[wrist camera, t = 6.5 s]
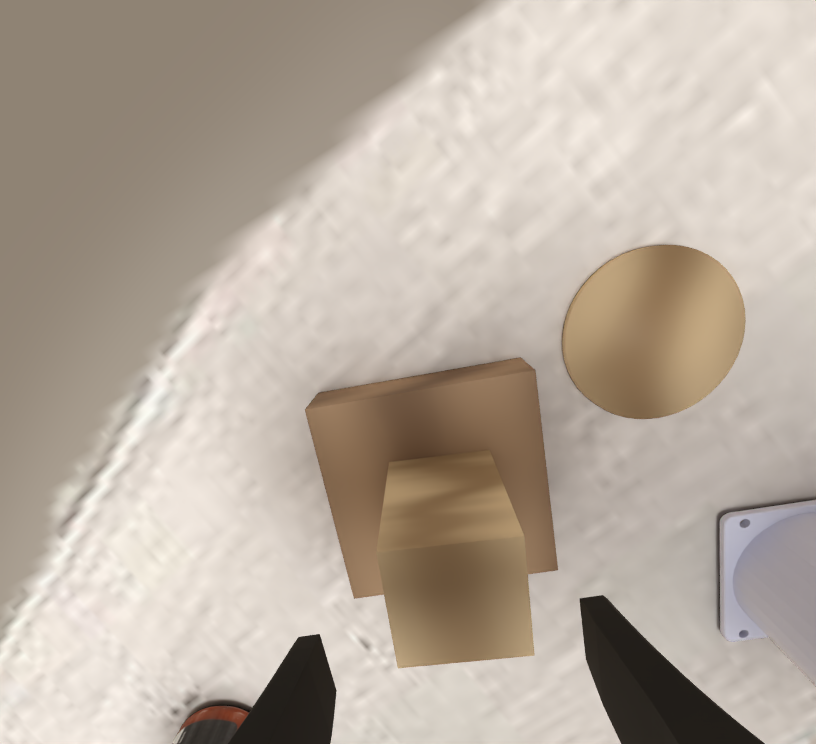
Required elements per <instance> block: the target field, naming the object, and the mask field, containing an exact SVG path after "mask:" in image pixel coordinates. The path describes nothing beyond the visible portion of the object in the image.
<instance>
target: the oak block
mask: <svg viewBox="0 0 816 744" xmlns="http://www.w3.org/2000/svg"><path fill="white" fill-rule="evenodd" d="M376 554H377V559H378V564H379V570H380V575H381V580H382V586H383V591H384V596H385V602H386V607H387V612H388V618H389V623H390V628H391V634H392V639H393V645H394V650H395V655H396V661H397V666H398V668H406V667H416V666H427V665H438V664H448V663H459V662H470V661H480V660H491V659H501V658H512V657H523V656H533V655H534V645H533V633H532V621H531V609H530V597H529V585H528V573H527V561H526V549H525V537H524V534H523V531H522V529H521V527H520V524H519V522H518V519H517V517H516V514H515V512H514V509H513V507H512V504H511V502H510V499H509V497H508V494H507V492H506V489H505V487H504V484H503V482H502V480H501V477H500V475H499V472H498V470H497V467H496V465H495V462H494V460H493V457H492V455H491V452H490V450H485V451H476V452H468V453H460V454H452V455H444V456H435V457H427V458H419V459H411V460H402V461H394V462H389V466H388V473H387V480H386V487H385V494H384V501H383V508H382V515H381V523H380V530H379V537H378V544H377V551H376Z"/></svg>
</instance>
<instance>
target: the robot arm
mask: <svg viewBox="0 0 816 744" xmlns="http://www.w3.org/2000/svg"><path fill="white" fill-rule="evenodd" d="M742 520H744V521H742ZM741 521H742V522H741ZM740 522H741V523H740ZM580 607H581V616H582V626H583V635H584V645H585V654H586V660H587V663H588V666H589V669H590V671H591V674H592V677H593V679H594V682H595V685H596V688H597V690H598V693H599V695H600V698H601V701H602V703H603V706H604V708H605V710H606V712H607V714H608V716H609V719H610V721H611V723H612V725H613V727H614V729H615V731H616V733H617V735H618V738H619V740H620V742H621V744H765V743H763V742H762V741H761V740H760V739H758V738H757V737H756V736H755V735H753V734H752V733H751V732H749V731H748V730H747V729H746V728H744V727H743V726H742V725H741V724H740V723H738V722H737V721H736V720H735V719H733V718H732V717H731V716H730V715H729V714H727V713H726V712H725V711H724V710H723V709H722V708H720V707H719V706H718V705H717V704H716V703H715V702H713V701H712V700H711V699H710V698H709V697H708V696H706V695H705V694H704V693H703V692H702V691H701V690H700V689H698V688H697V687H696V686H695V685H694V684H693V683H692V682H691V681H690V680H688V679H687V678H686V677H685V676H684V675H683V674H682V673H681V672H680V671H679V670H678V669H677V668H675V667H674V666H673V665H672V664H671V663H670V662H669V661H668V660H667V659H666V658H665V657H664V656H663V655H662V654H661V653H660V652H658V651H657V650H656V649H655V648H654V647H653V646H652V645H651V644H650V643H649V642H648V641H647V640H646V639H645V638H644V637H643V636H642V635H641V634H640V633H639V632H638V631H637V630H636V629H635V628H634V627H633V626H632V625H631V624H630V622H629V621H628V620H627V619H626V618H625V617H624V616H623V615H622V614H621V613H620V612H619V611H618V610H617V609H616V608H615V607H614V605H613V604H612V603H611V602H610V601H609V600H608V599H607V598H606V597H604V596H603V595H602V596H594V597H587V598H580ZM720 632H721V634H722V635H723V636H724V638H725V639H726V640H728V641H732V642H735V641H742V640H750V639H758V638H766V637H769V638H770V639H771V640H772V641H773V642H774V643H775V644H776V645H777V647H778V648H779V649H780V650H781V651H782V652H783V653H784V654H785V655H786V656H787V657H788V658H789V659H790V660H791V661H792V662H793V663H794V664H795V665H796V666H797V667H798V668H799V670H800V671H801V672H802V673H803V674H804V675H805V676H806V677H807V678H808V679H809V680H810V681H811V682H812V683H813V684H814V685H815V686H816V500H811V501H804V502H797V503H791V504H784V505H777V506H770V507H764V508H757V509H750V510H744V511H737V512H730V513H727V514H725V515H723V516H722V518H721V519H720ZM335 700H336V688H335V684H334V681H333V678H332V674H331V671H330V667H329V664H328V661H327V657H326V654H325V651H324V647H323V644H322V640H321V637H320V634H317V635H310V636H303V637H298V639H297V640H296V641H295V643H294V645H293V646H292V648H291V649H290V651H289V652H288V654H287V655H286V657H285V659H284V660H283V662H282V663H281V665H280V666H279V668H278V670H277V671H276V673H275V674H274V676H273V677H272V679H271V680H270V682H269V684H268V685H267V687H266V688H265V690H264V691H263V693H262V694H261V696H260V697H259V699H258V700H257V702H256V703H255V705H254V706H253V708H252V709H251V711H250V712H249V714H248V715H247V717H246V718H245V720H244V721H243V722H242V724H241V725H240V727H239V728H238V730H237V731H236V732H235V734H234V735H233V736H232V738H231V739H230V741H229V742H228V743H227V744H330V742H331V736H332V728H333V719H334V710H335Z"/></svg>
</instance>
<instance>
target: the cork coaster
mask: <svg viewBox="0 0 816 744" xmlns="http://www.w3.org/2000/svg"><path fill="white" fill-rule="evenodd" d="M744 332H745V308H744V303H743V298H742V296H741V293H740V290H739V288H738V286H737V284H736V282H735V280H734V278H733V277H732V276H731V274H730V273H729V272H728V271H727V269H726V268H725V267H723V266H722V265H721V264H720V263H719V262H718V261H717V260H715V259H714V258H712V257H711V256H709V255H707V254H705V253H703V252H701V251H699V250H696V249H692V248H689V247H684V246H677V245H659V246H650V247H643V248H640V249H636V250H632V251H630V252H627V253H625V254H622V255H620V256H618V257H616V258H614V259H613V260H611V261H609V262H608V263H606V264H605V265H603V266H602V267H601V268H599V269H598V270H597V271H596V272H595V273H594V274H593V275H592V276H591V277H590V278H589V279H588V280H587V281H586V282H585V283H584V285H583V286H582V287H581V289H580V290H579V292H578V293H577V294H576V296H575V298H574V300H573V302H572V304H571V306H570V308H569V311H568V313H567V316H566V319H565V324H564V328H563V337H562V347H563V356H564V361H565V364H566V367H567V370H568V373H569V375H570V377H571V379H572V380H573V382H574V383H575V385H576V386H577V388H578V389H579V390H580V391H581V392H582V393H583V394H584V395H585V396H586V397H587V398H588V399H590V400H591V401H592V402H593V403H595V404H596V405H597V406H599V407H601V408H602V409H604V410H606V411H608V412H611V413H613V414H615V415H619V416H622V417H627V418H634V419H652V418H660V417H664V416H668V415H672V414H674V413H677V412H680V411H682V410H684V409H687V408H689V407H691V406H692V405H694V404H696V403H697V402H699V401H700V400H702V399H703V398H704V397H706V396H707V395H708V394H709V393H711V392H712V391H713V390H714V389H715V388H716V387H717V386H718V385H719V384H720V382H721V381H722V380H723V379H724V378H725V376H726V375H727V374H728V372H729V370H730V369H731V367H732V366H733V364H734V362H735V360H736V358H737V356H738V354H739V351H740V348H741V345H742V341H743V337H744Z"/></svg>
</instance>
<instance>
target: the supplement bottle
mask: <svg viewBox="0 0 816 744" xmlns="http://www.w3.org/2000/svg"><path fill="white" fill-rule="evenodd" d="M248 714H249V712H247V711H245V710H242V709H240V708H237V707H233V706H213V707H208V708H205V709H202V710H200V711H198V712H196V713H194V714H193V715H191V716H190V717H189V718H188V719H187V720H186V721H185V722H184V724H183V725H182V726H181V729H180V731H179V732H178V734H177V736H176V737H175V739H174V741H173V743H172V744H227V743H228V742H229V741H230V739H231V738H232V736H233V735H234V734H235V732H236V731H237V730H238V728H239V727H240V725H241V724H242V722H243V721H244V720H245V718H246V717H247V715H248Z"/></svg>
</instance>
